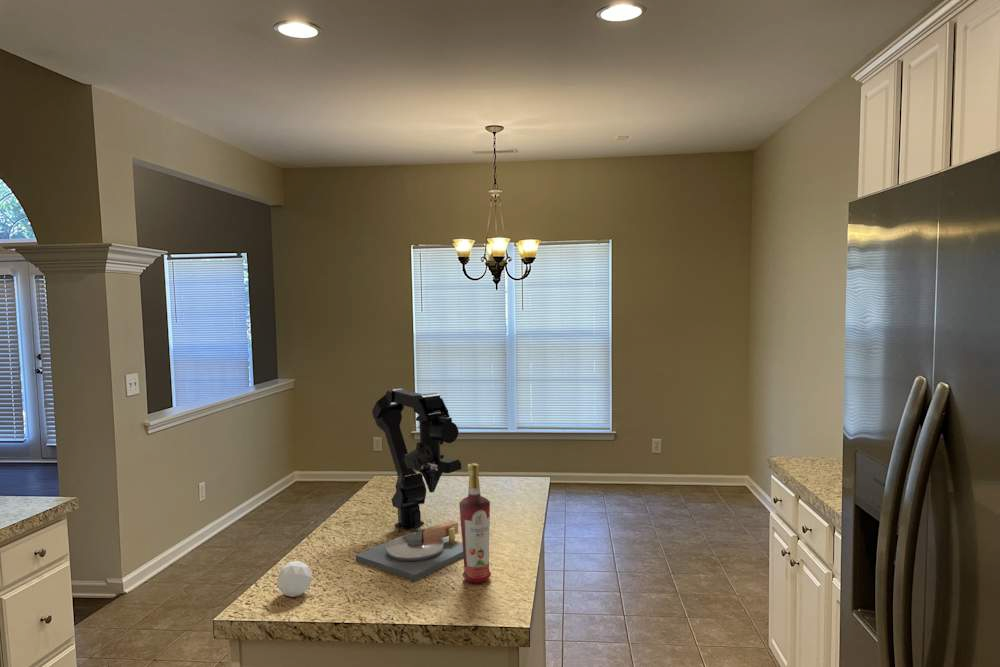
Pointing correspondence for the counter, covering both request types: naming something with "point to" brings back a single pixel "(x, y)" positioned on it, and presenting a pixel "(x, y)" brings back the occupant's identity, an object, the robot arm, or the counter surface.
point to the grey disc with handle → (420, 543)
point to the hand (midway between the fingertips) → (431, 492)
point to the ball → (294, 578)
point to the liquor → (475, 530)
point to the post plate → (413, 568)
